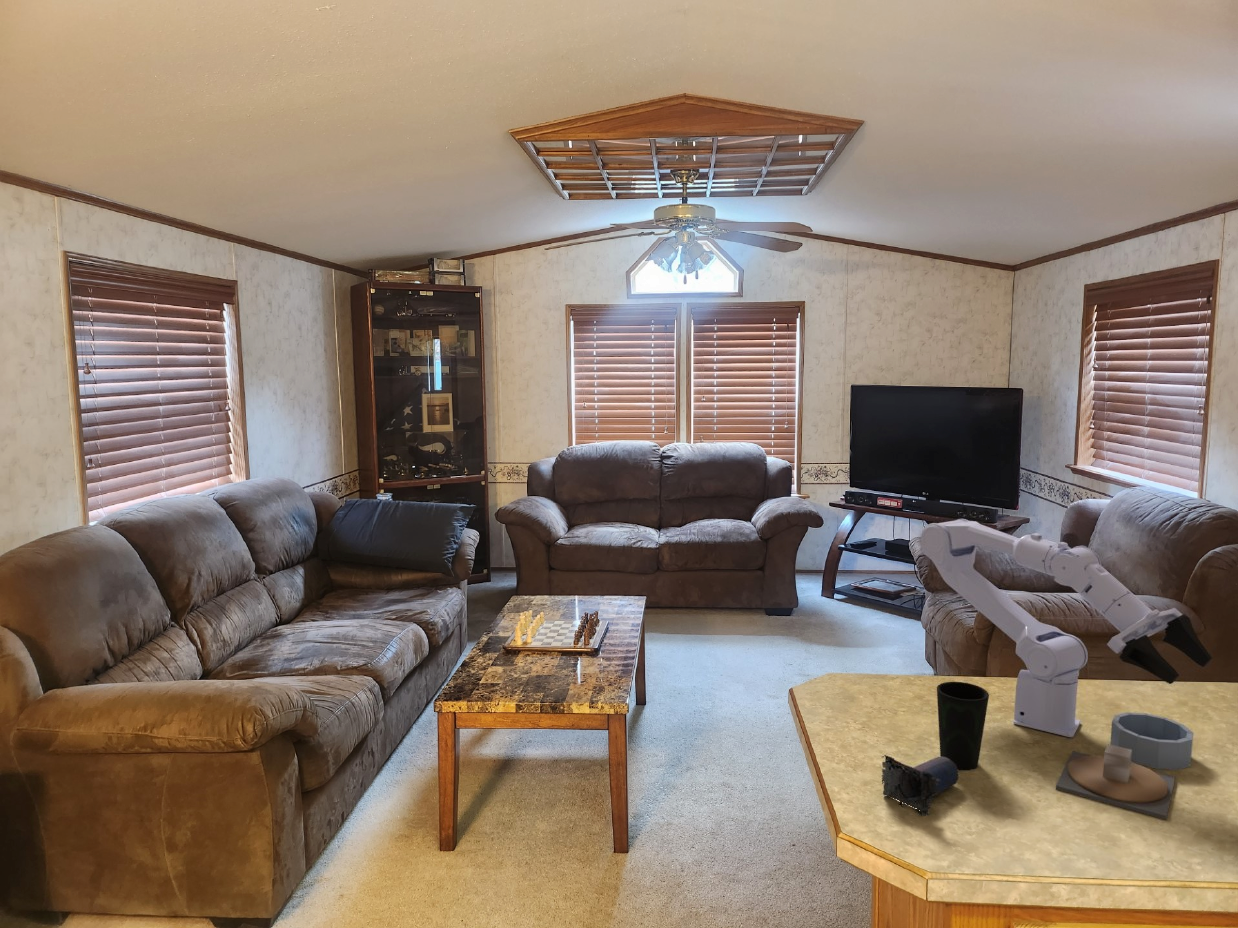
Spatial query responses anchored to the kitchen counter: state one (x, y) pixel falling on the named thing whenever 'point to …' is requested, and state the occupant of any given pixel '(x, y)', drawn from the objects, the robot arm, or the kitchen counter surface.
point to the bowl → (1153, 740)
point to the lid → (1117, 777)
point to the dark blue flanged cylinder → (918, 781)
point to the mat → (1151, 809)
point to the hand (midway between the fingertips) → (1191, 671)
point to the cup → (961, 722)
